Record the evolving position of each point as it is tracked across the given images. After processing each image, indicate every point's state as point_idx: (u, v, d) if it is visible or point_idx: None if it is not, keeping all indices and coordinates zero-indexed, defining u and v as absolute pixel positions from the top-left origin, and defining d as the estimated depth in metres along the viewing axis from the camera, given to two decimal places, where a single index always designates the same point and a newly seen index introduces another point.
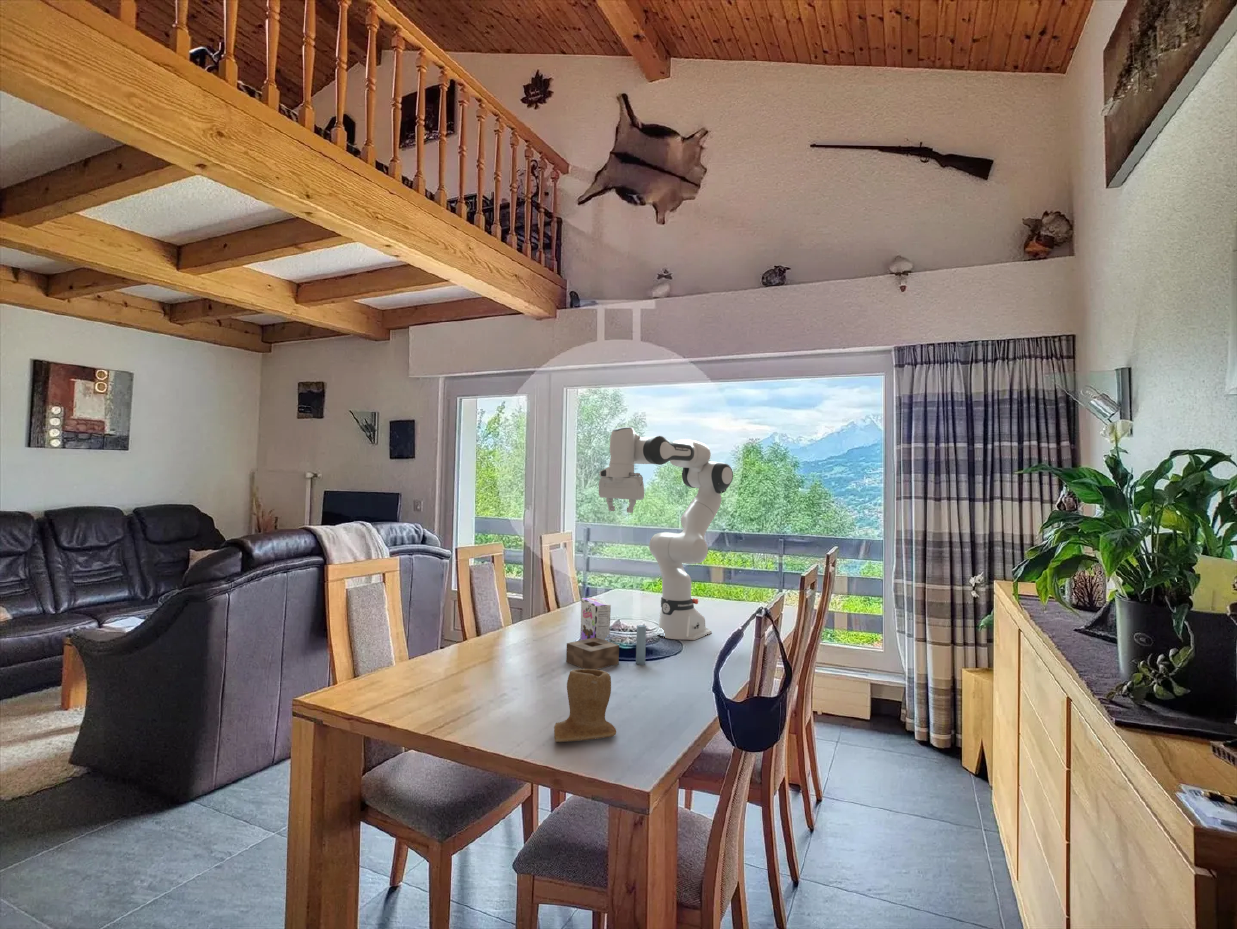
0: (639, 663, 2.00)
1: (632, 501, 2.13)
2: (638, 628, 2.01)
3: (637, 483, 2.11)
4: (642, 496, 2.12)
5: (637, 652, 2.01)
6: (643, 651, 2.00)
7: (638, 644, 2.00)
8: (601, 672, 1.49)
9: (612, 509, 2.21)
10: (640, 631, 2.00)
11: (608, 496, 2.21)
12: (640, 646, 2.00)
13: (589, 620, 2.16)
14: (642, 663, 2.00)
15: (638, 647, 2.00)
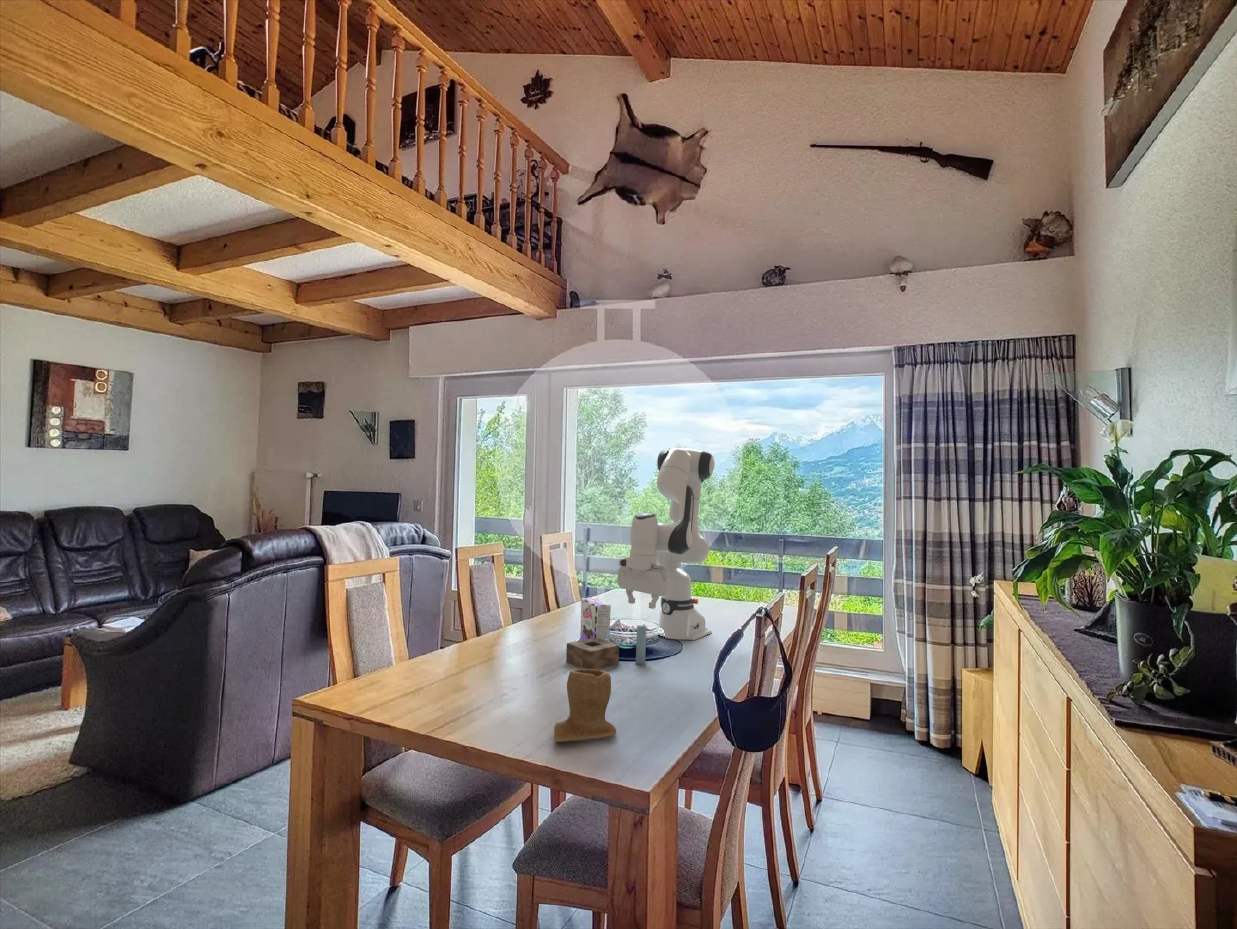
0: (639, 663, 2.00)
1: (655, 596, 1.97)
2: (638, 628, 2.01)
3: (661, 578, 1.94)
4: (666, 592, 1.95)
5: (637, 652, 2.01)
6: (643, 651, 2.00)
7: (638, 644, 2.00)
8: (601, 672, 1.49)
9: (632, 601, 2.04)
10: (640, 631, 2.00)
11: (628, 587, 2.04)
12: (640, 646, 2.00)
13: (589, 620, 2.16)
14: (642, 663, 2.00)
15: (638, 647, 2.00)
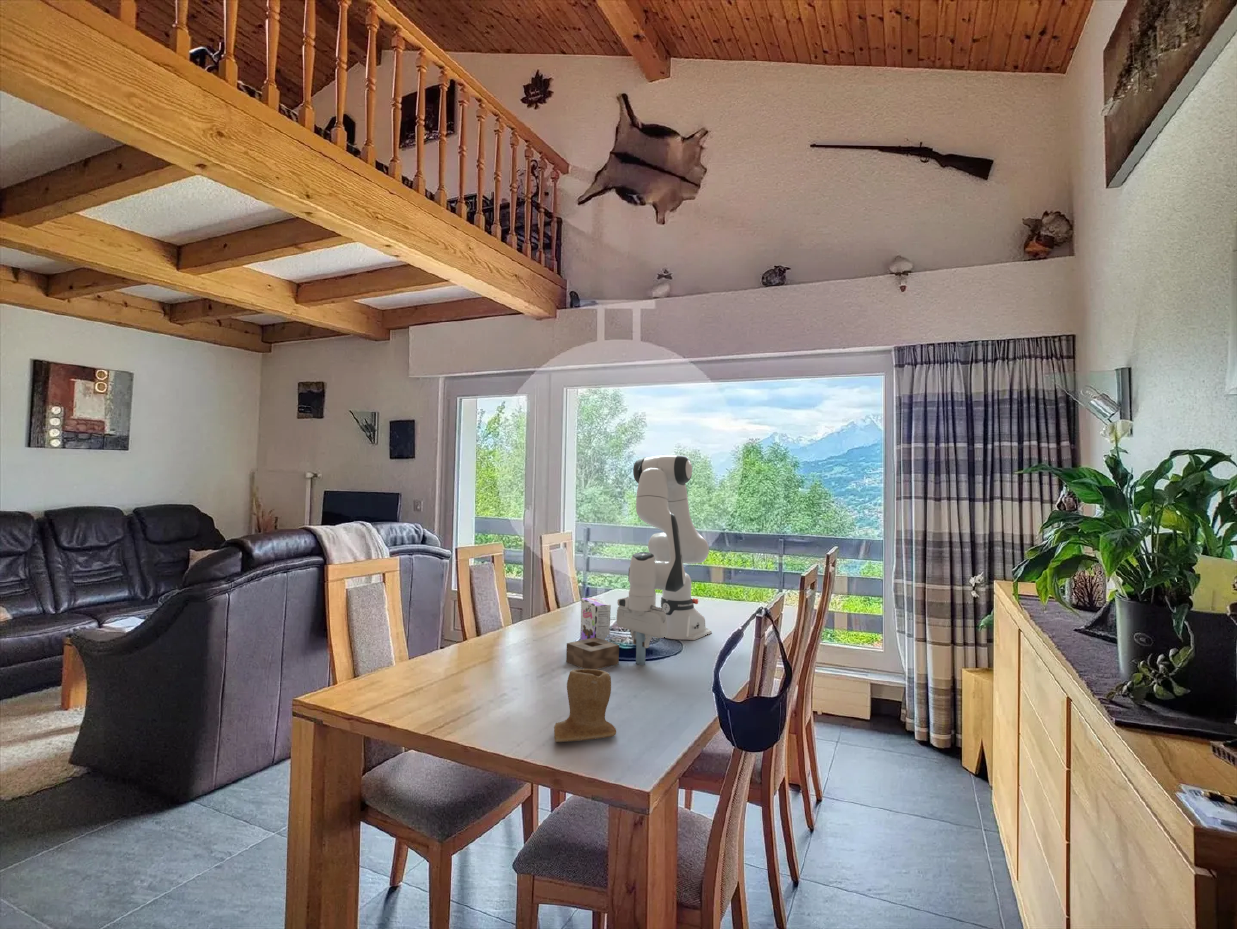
0: (639, 663, 2.00)
1: (648, 636, 1.98)
2: None
3: (660, 620, 1.94)
4: (665, 633, 1.95)
5: (637, 652, 2.01)
6: (643, 651, 2.00)
7: (638, 644, 2.00)
8: (601, 672, 1.49)
9: None
10: None
11: (627, 627, 2.04)
12: (640, 646, 2.00)
13: (589, 620, 2.16)
14: (642, 663, 2.00)
15: (638, 647, 2.00)
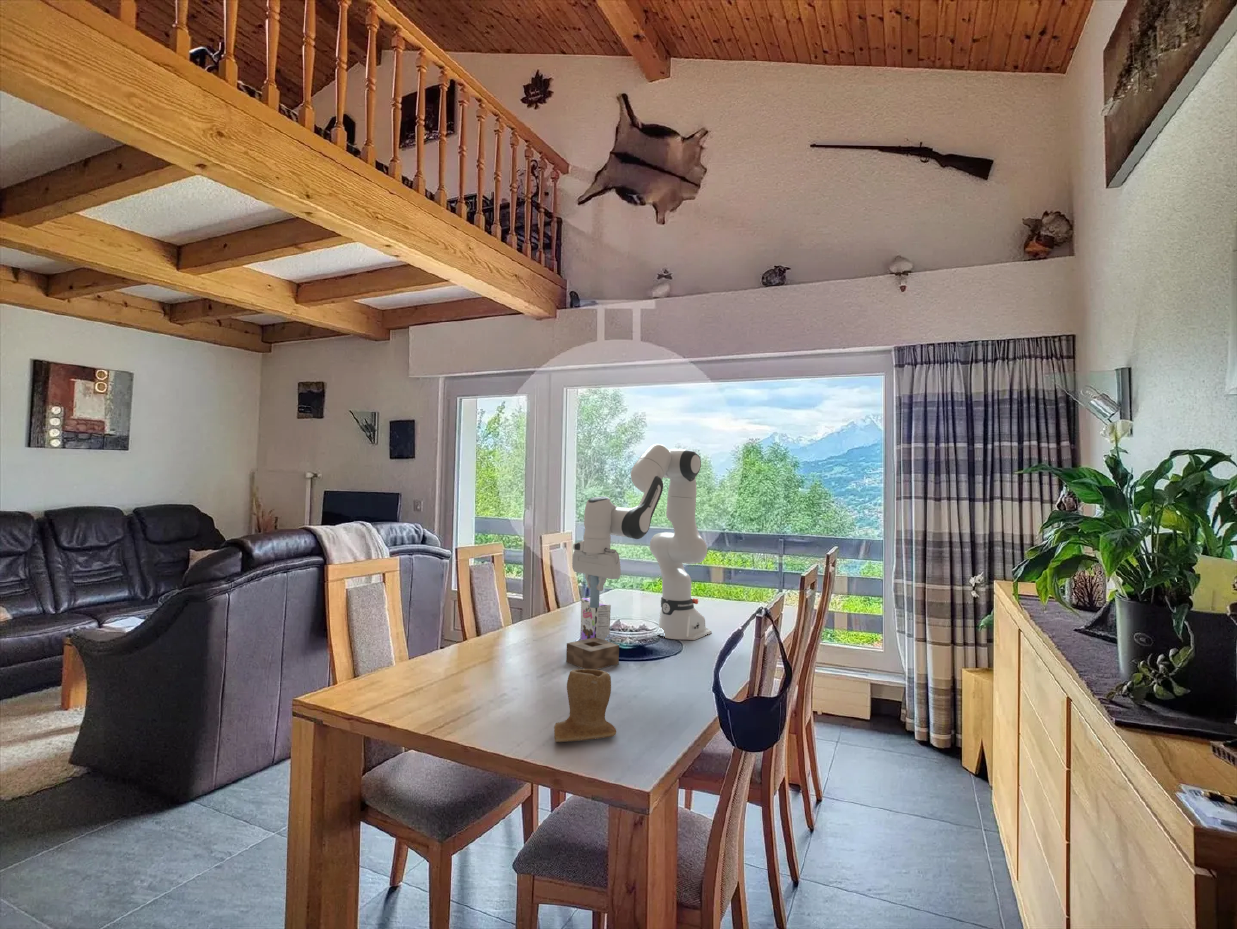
0: (593, 606, 1.99)
1: (602, 579, 1.98)
2: None
3: (613, 561, 1.93)
4: (618, 575, 1.94)
5: (591, 595, 2.00)
6: (597, 594, 1.99)
7: (592, 587, 2.00)
8: (601, 672, 1.49)
9: None
10: None
11: (582, 571, 2.03)
12: (594, 589, 1.99)
13: (589, 620, 2.16)
14: (596, 606, 1.99)
15: (592, 590, 2.00)
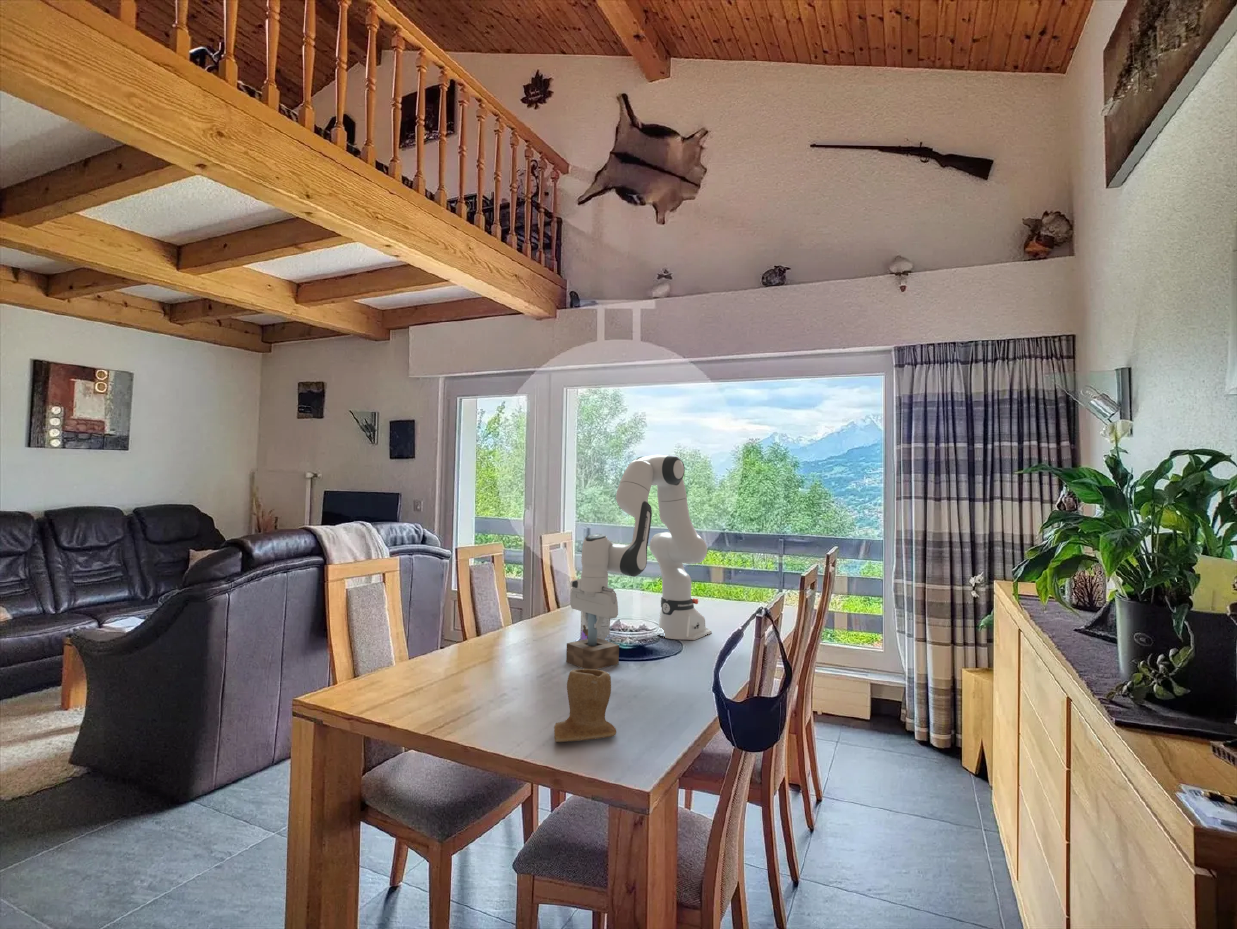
0: (590, 645, 1.99)
1: (600, 617, 1.98)
2: None
3: (610, 601, 1.93)
4: (615, 614, 1.94)
5: (589, 633, 2.00)
6: (595, 632, 1.99)
7: (590, 625, 1.99)
8: (601, 672, 1.49)
9: None
10: None
11: (580, 609, 2.03)
12: (591, 627, 1.99)
13: None
14: (593, 645, 1.99)
15: (590, 628, 1.99)
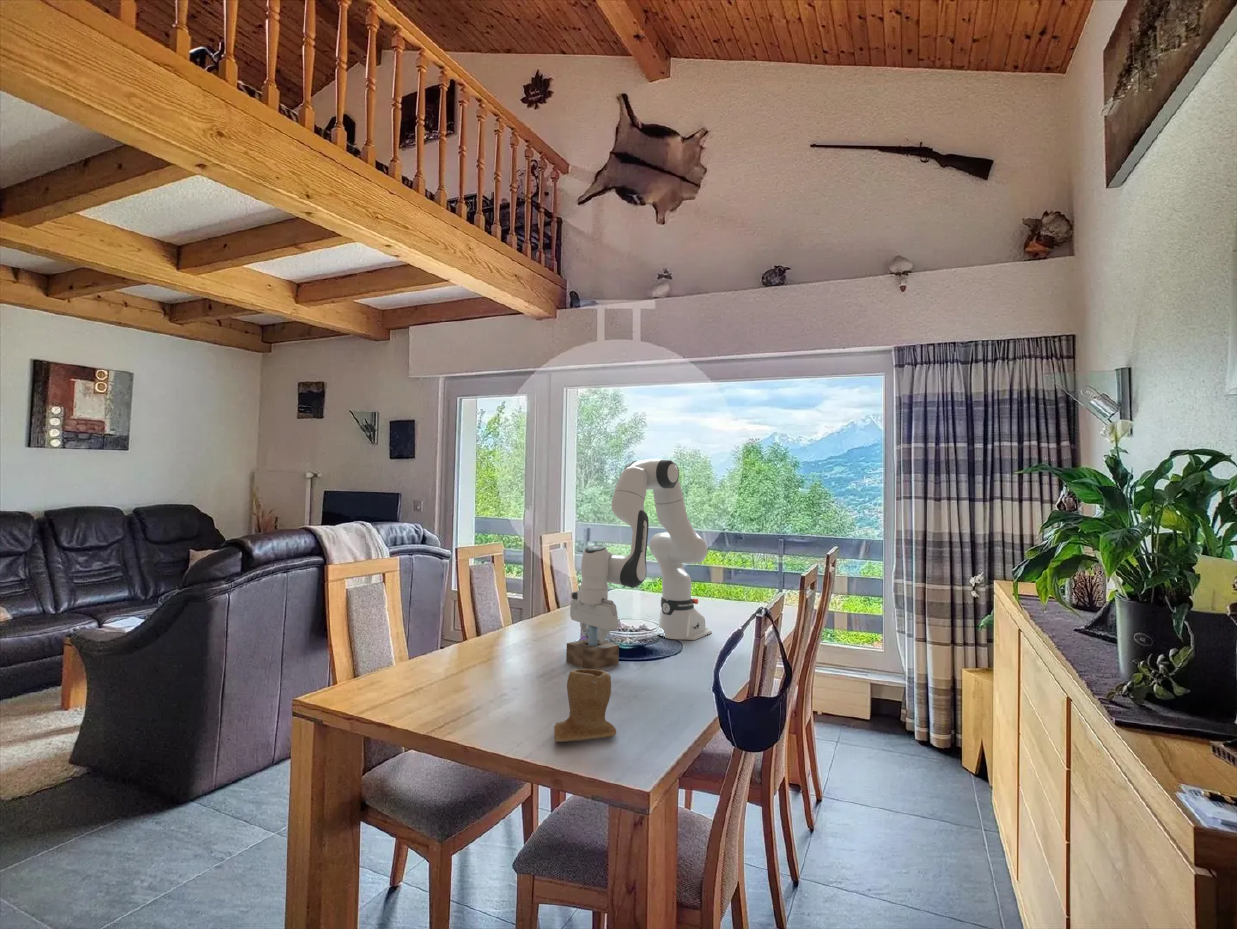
0: None
1: (603, 630, 1.96)
2: (589, 627, 2.00)
3: (610, 613, 1.93)
4: (615, 626, 1.94)
5: None
6: None
7: (589, 643, 2.00)
8: (601, 672, 1.49)
9: (586, 635, 2.03)
10: (591, 631, 1.99)
11: (580, 621, 2.03)
12: (591, 645, 1.99)
13: None
14: None
15: None
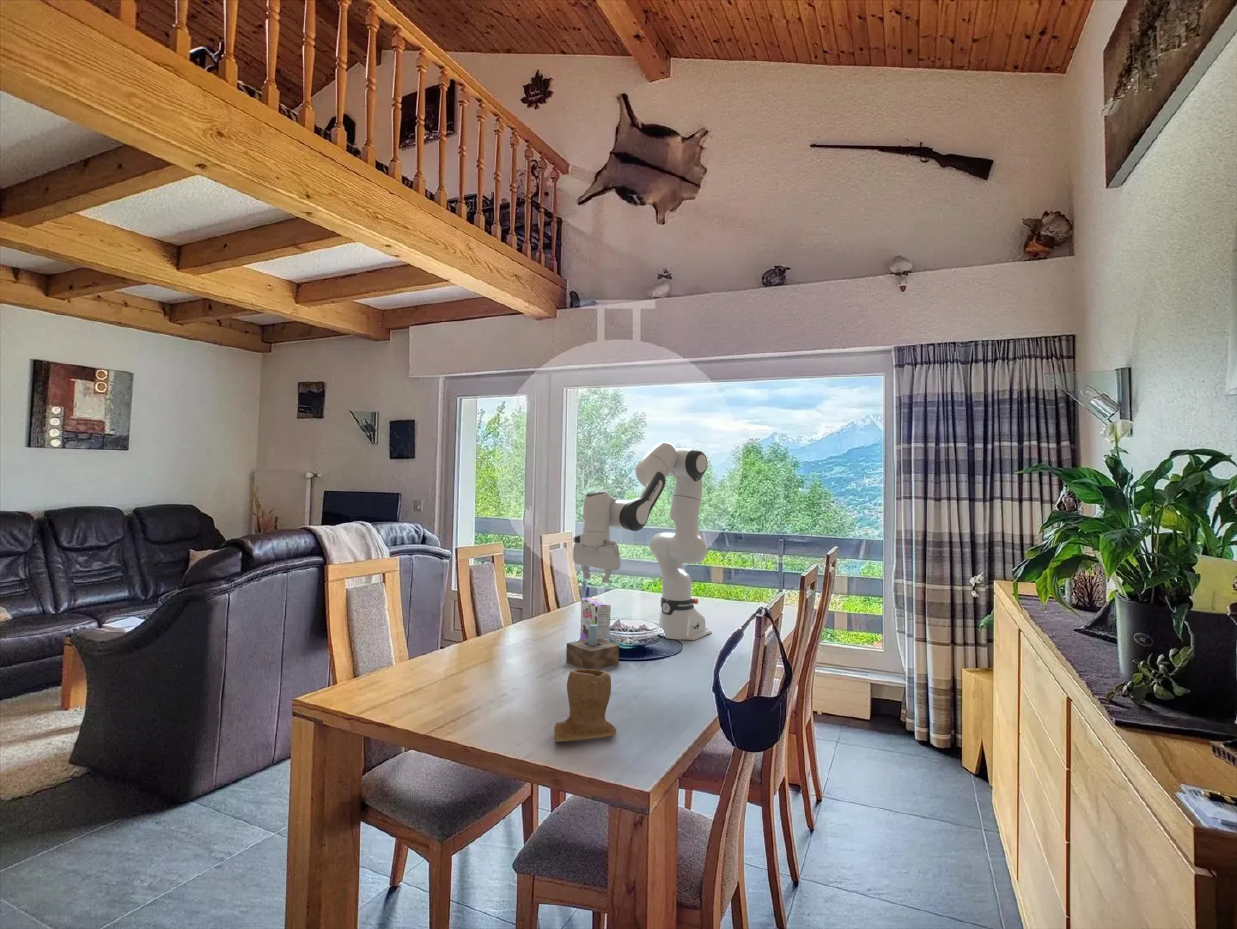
0: None
1: (608, 571, 2.01)
2: (590, 627, 2.00)
3: (613, 553, 1.99)
4: (618, 566, 2.00)
5: None
6: None
7: (589, 643, 1.99)
8: (601, 672, 1.49)
9: (587, 577, 2.09)
10: (592, 631, 1.99)
11: (583, 563, 2.09)
12: (591, 645, 1.99)
13: (589, 620, 2.16)
14: None
15: None
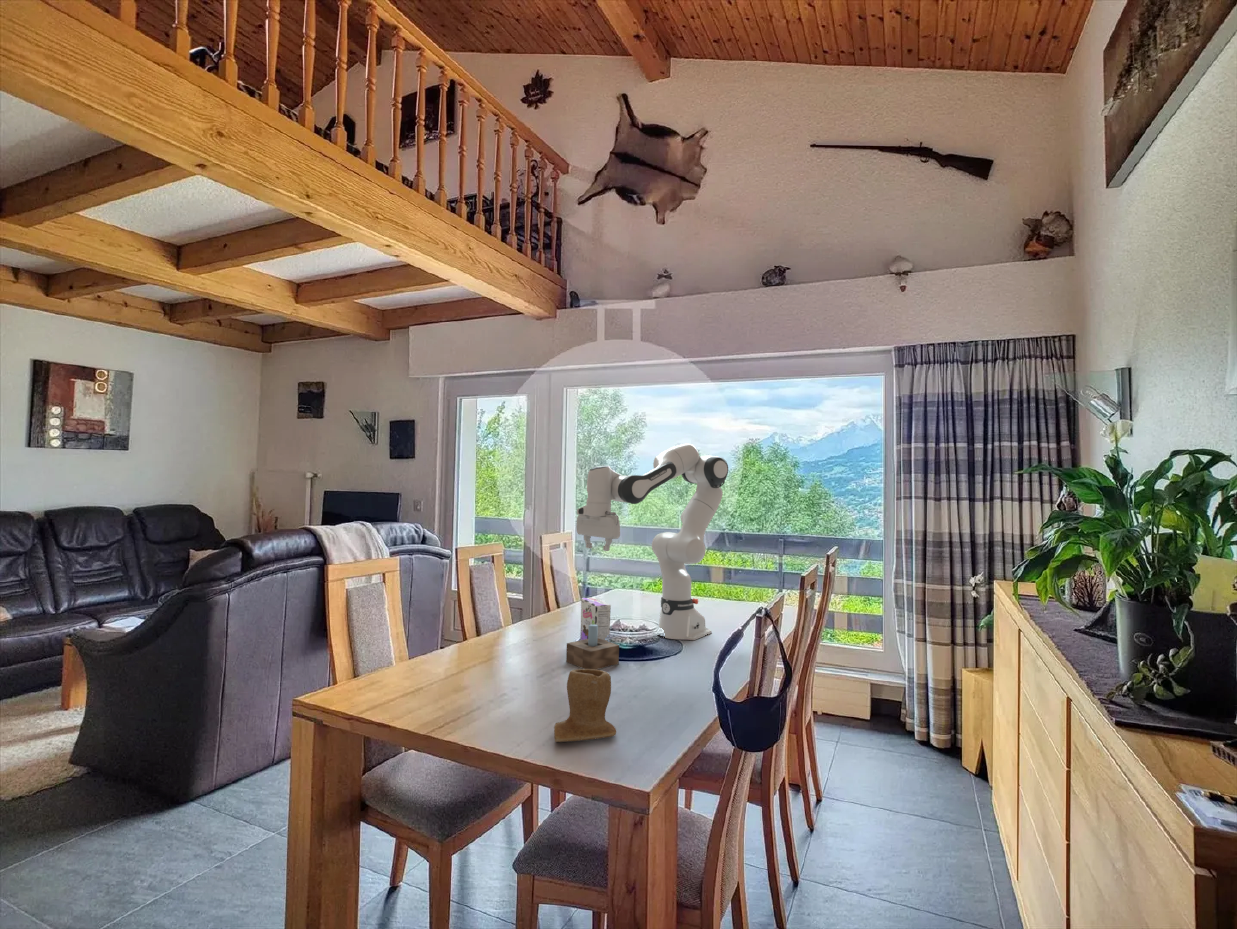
0: None
1: (608, 540, 2.17)
2: (590, 627, 2.00)
3: (613, 523, 2.14)
4: (618, 535, 2.15)
5: None
6: None
7: (589, 643, 1.99)
8: (601, 672, 1.49)
9: (589, 546, 2.25)
10: (592, 631, 1.99)
11: (585, 534, 2.24)
12: (591, 645, 1.99)
13: (589, 620, 2.16)
14: None
15: None
